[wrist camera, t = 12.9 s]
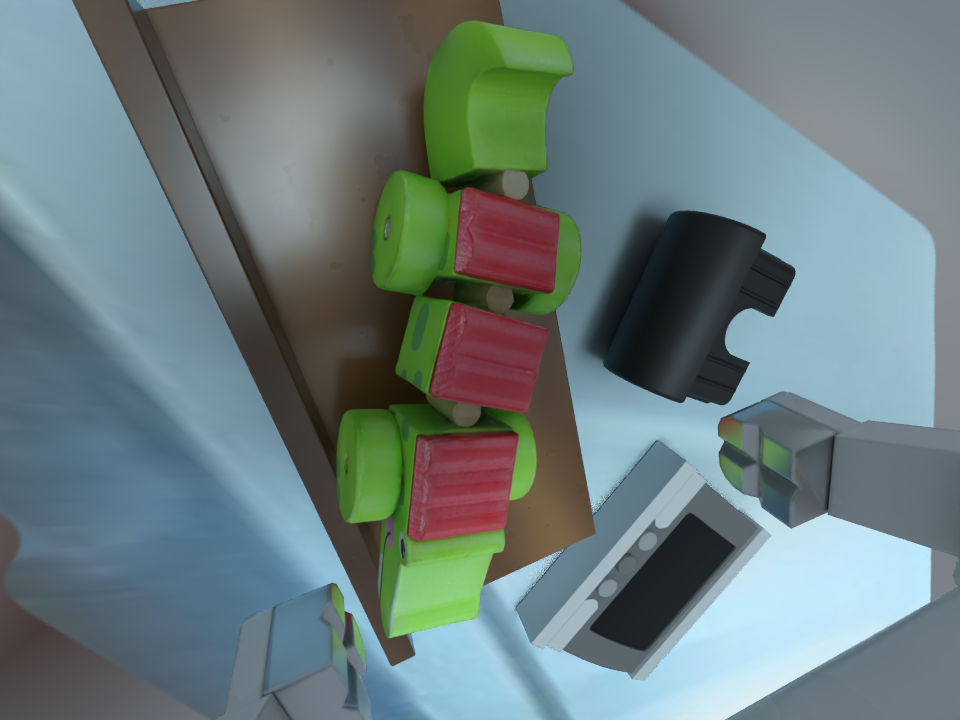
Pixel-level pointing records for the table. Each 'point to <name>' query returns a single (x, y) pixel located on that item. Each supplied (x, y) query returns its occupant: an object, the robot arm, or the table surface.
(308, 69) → the shoe shelf
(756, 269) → the end cap
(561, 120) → the table surface
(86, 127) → the table surface
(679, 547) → the alarm clock
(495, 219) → the toy crocodile
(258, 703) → the robot arm
